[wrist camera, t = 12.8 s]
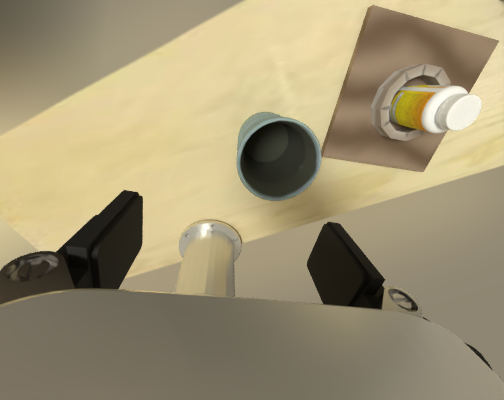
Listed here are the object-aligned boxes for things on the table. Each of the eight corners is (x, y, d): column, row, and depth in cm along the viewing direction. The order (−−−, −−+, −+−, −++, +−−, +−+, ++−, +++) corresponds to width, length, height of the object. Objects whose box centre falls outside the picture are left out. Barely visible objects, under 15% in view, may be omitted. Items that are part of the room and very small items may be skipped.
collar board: (418, 169, 41) (434, 177, 38) (320, 154, 38) (328, 161, 35) (490, 42, 32) (519, 37, 28) (368, 7, 29) (385, -2, 25)
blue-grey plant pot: (236, 104, 33) (238, 114, 22) (300, 109, 34) (332, 121, 23) (233, 167, 38) (235, 200, 27) (290, 169, 39) (312, 202, 28)
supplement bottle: (387, 129, 35) (440, 146, 27) (381, 96, 33) (438, 102, 24) (421, 112, 35) (488, 123, 26) (418, 77, 32) (491, 75, 23)
